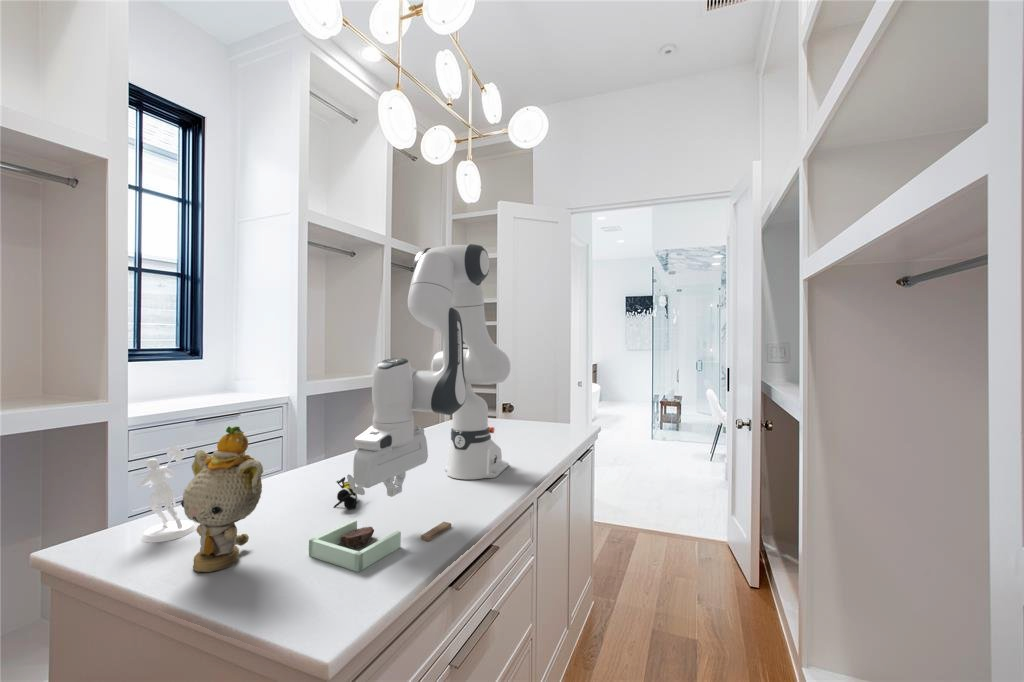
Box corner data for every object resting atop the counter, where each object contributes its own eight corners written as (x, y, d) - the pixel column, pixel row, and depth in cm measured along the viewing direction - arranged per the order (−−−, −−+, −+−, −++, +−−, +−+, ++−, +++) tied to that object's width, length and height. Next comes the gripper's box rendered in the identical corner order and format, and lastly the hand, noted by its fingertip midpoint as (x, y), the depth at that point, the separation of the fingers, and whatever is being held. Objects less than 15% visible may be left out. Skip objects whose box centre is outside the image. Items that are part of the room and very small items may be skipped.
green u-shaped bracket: (353, 533, 93) (353, 519, 93) (400, 546, 88) (400, 531, 88) (308, 555, 84) (308, 540, 84) (358, 572, 78) (358, 555, 78)
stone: (340, 554, 85) (341, 537, 85) (339, 539, 91) (339, 524, 91) (376, 548, 87) (376, 532, 87) (372, 534, 94) (372, 519, 94)
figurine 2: (216, 590, 72) (217, 438, 72) (164, 564, 80) (165, 428, 81) (281, 560, 82) (282, 427, 82) (229, 539, 90) (230, 419, 91)
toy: (325, 485, 117) (322, 506, 103) (348, 465, 119) (349, 484, 105) (342, 502, 118) (342, 526, 105) (364, 483, 120) (367, 503, 106)
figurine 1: (184, 519, 101) (185, 441, 101) (207, 528, 96) (208, 446, 96) (131, 536, 92) (132, 450, 92) (153, 546, 87) (154, 456, 88)
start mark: (443, 525, 98) (443, 521, 98) (451, 526, 97) (451, 523, 97) (420, 539, 91) (421, 535, 91) (428, 541, 90) (428, 537, 90)
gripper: (412, 421, 107) (413, 477, 108) (347, 441, 89) (348, 508, 90) (433, 424, 105) (434, 481, 105) (370, 444, 86) (371, 514, 87)
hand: (394, 494), depth 97 cm, fingers closed
